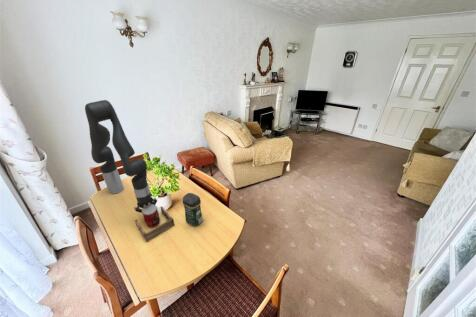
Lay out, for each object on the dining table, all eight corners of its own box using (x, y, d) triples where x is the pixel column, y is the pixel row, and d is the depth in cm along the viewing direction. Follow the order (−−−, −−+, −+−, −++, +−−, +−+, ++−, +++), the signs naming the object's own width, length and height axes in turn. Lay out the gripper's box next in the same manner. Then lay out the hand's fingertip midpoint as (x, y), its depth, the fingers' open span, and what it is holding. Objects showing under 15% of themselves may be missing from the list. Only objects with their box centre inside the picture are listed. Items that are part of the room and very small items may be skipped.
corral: (136, 226, 111) (134, 220, 109) (163, 212, 121) (162, 206, 119) (146, 241, 103) (144, 235, 100) (174, 225, 112) (173, 219, 110)
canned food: (155, 229, 110) (151, 215, 104) (143, 226, 111) (138, 212, 106) (163, 219, 116) (159, 205, 111) (151, 217, 118) (147, 203, 112)
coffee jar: (183, 221, 115) (179, 197, 106) (192, 213, 121) (189, 189, 112) (195, 229, 110) (192, 203, 101) (205, 220, 116) (202, 195, 107)
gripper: (151, 184, 114) (157, 206, 122) (127, 194, 106) (135, 217, 114) (157, 190, 109) (162, 213, 118) (132, 201, 101) (140, 225, 110)
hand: (149, 215), depth 116 cm, fingers closed
